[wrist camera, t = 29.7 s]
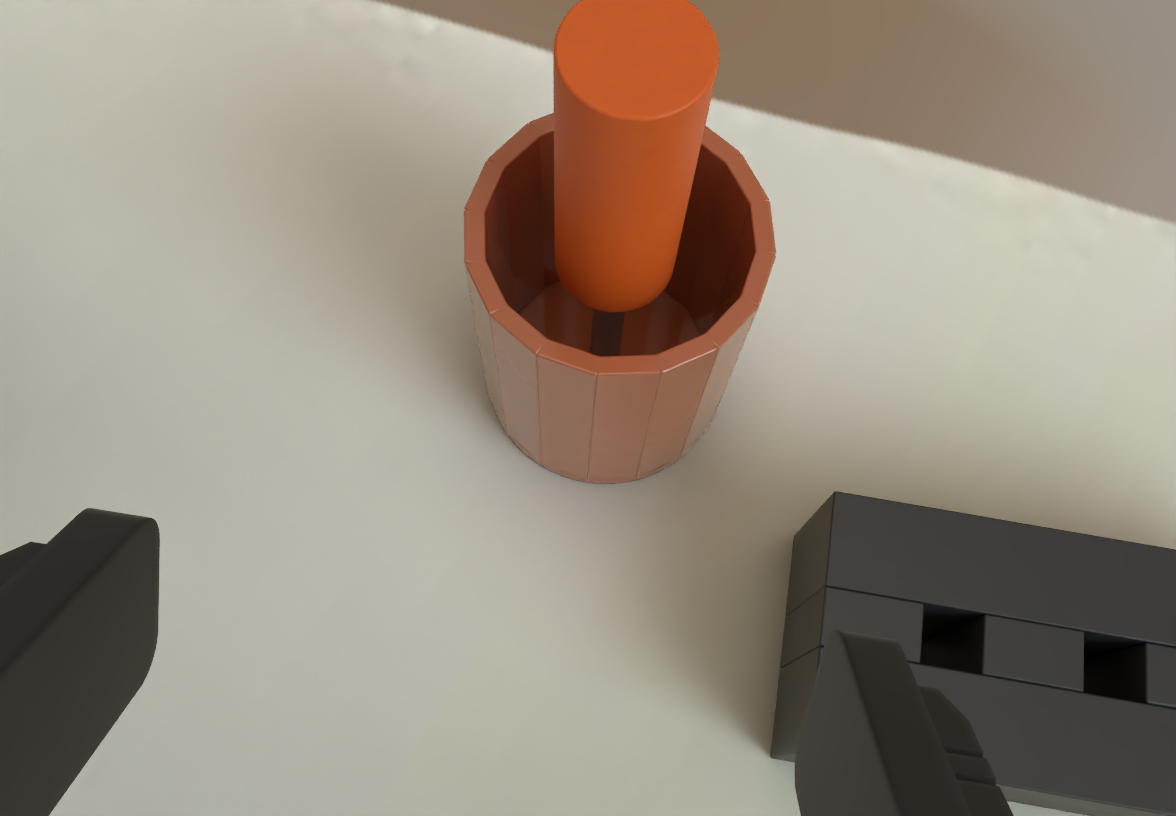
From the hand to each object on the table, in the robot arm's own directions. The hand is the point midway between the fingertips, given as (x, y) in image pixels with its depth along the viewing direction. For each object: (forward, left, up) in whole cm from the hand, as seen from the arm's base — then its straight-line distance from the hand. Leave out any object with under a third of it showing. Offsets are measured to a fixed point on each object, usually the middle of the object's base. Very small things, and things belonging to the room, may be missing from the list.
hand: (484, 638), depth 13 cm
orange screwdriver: (+7, +9, -18) cm, 21 cm away
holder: (+14, -5, -19) cm, 24 cm away
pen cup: (+7, +9, -19) cm, 22 cm away
